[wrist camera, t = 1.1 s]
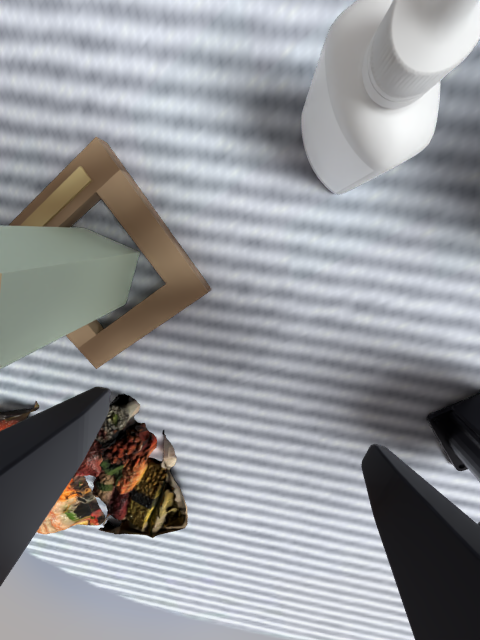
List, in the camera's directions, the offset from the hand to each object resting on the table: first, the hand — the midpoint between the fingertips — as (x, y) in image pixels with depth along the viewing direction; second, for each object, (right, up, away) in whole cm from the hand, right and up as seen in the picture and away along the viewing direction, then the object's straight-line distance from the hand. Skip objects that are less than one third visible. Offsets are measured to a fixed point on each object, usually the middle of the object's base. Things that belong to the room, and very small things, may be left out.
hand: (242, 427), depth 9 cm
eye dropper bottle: (+6, +15, +8) cm, 18 cm away
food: (-17, -12, +20) cm, 28 cm away
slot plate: (-11, +8, +12) cm, 18 cm away
